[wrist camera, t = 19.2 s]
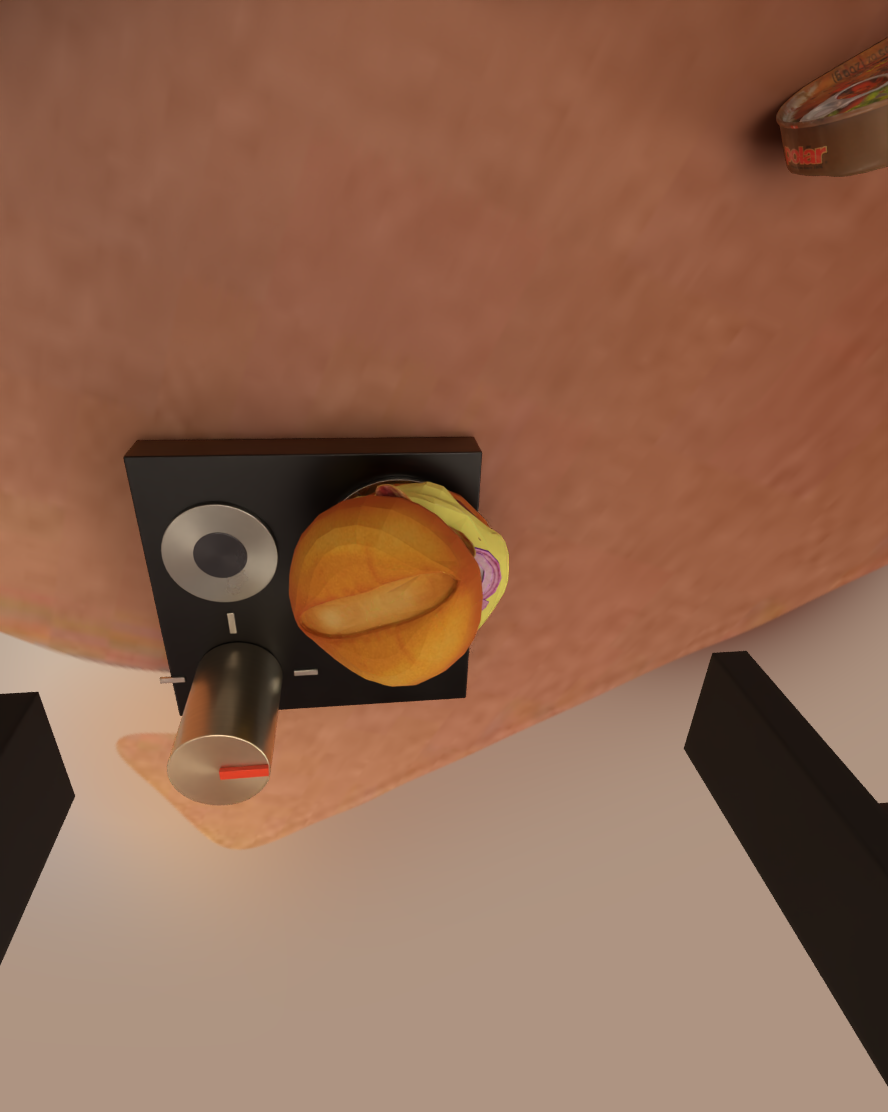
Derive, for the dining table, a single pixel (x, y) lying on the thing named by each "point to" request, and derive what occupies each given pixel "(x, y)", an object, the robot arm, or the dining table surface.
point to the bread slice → (840, 119)
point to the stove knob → (228, 726)
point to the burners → (229, 548)
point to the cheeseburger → (397, 581)
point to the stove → (280, 546)
